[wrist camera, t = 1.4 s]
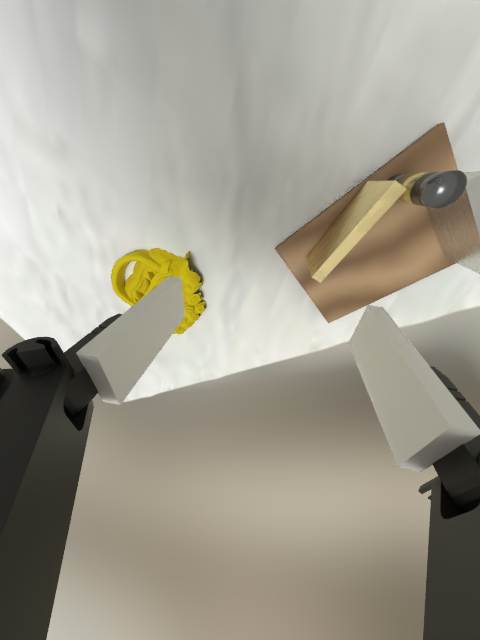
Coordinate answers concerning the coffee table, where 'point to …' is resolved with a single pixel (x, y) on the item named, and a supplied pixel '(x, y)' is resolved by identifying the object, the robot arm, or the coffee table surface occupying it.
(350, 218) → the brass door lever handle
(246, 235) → the coffee table surface
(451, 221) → the fixed leaf
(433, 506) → the robot arm
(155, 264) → the door knocker
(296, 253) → the walnut board
